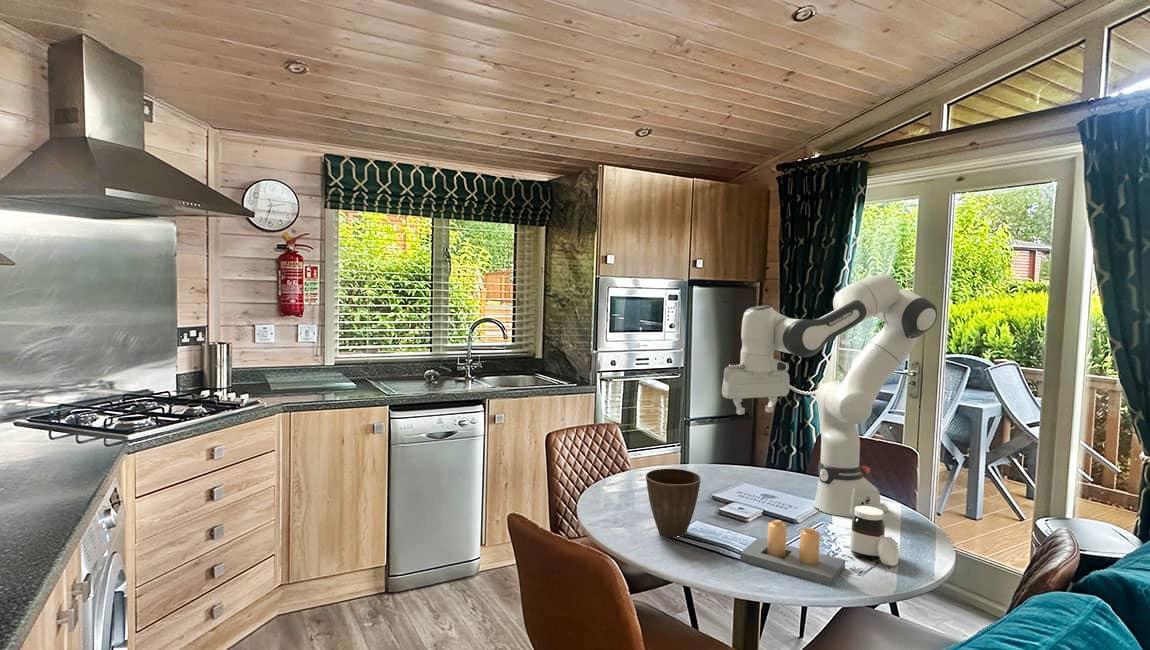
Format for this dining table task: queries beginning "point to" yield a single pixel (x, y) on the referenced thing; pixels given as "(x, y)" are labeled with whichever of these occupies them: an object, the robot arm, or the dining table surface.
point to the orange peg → (776, 539)
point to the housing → (797, 559)
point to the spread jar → (872, 537)
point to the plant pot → (672, 499)
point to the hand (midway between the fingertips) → (754, 413)
